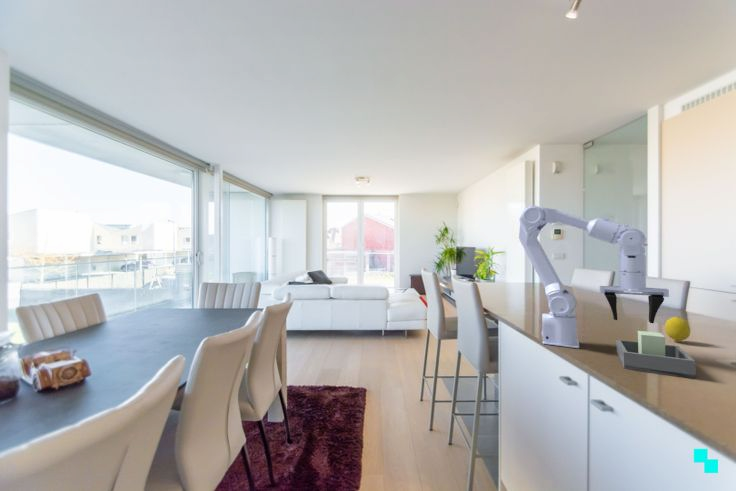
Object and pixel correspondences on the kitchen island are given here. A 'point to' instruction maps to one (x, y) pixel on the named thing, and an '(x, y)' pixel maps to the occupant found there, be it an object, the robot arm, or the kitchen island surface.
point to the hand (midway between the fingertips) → (632, 320)
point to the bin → (656, 360)
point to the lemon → (677, 329)
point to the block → (651, 343)
